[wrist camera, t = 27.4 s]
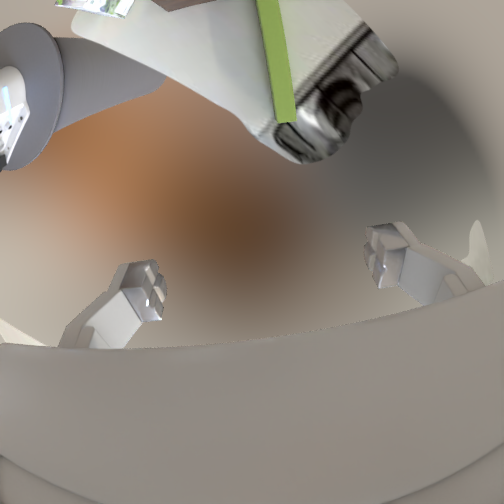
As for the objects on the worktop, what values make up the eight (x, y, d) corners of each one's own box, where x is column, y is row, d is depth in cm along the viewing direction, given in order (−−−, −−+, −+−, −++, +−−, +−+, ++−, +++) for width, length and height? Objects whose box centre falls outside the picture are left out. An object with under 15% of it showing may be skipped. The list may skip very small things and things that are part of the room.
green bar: (293, 117, 42) (296, 121, 39) (275, 119, 42) (277, 123, 40) (272, -13, 27) (274, -19, 25) (252, -12, 27) (253, -17, 25)
